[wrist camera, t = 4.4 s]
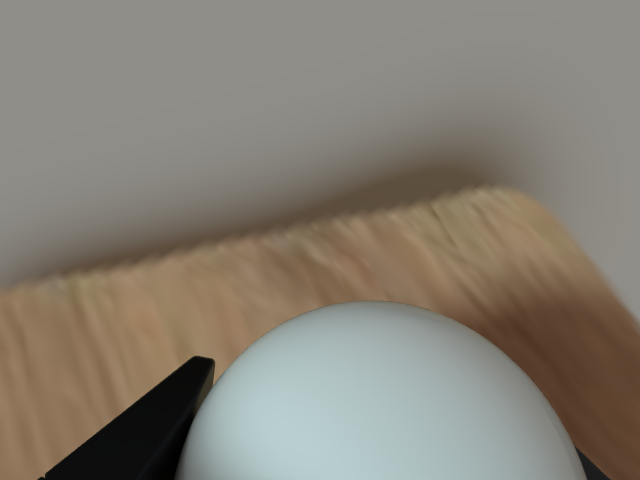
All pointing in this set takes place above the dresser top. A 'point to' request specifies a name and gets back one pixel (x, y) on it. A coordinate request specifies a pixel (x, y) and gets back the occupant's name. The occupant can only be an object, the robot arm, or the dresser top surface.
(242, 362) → the lightbulb
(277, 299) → the dresser top surface
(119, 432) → the robot arm
